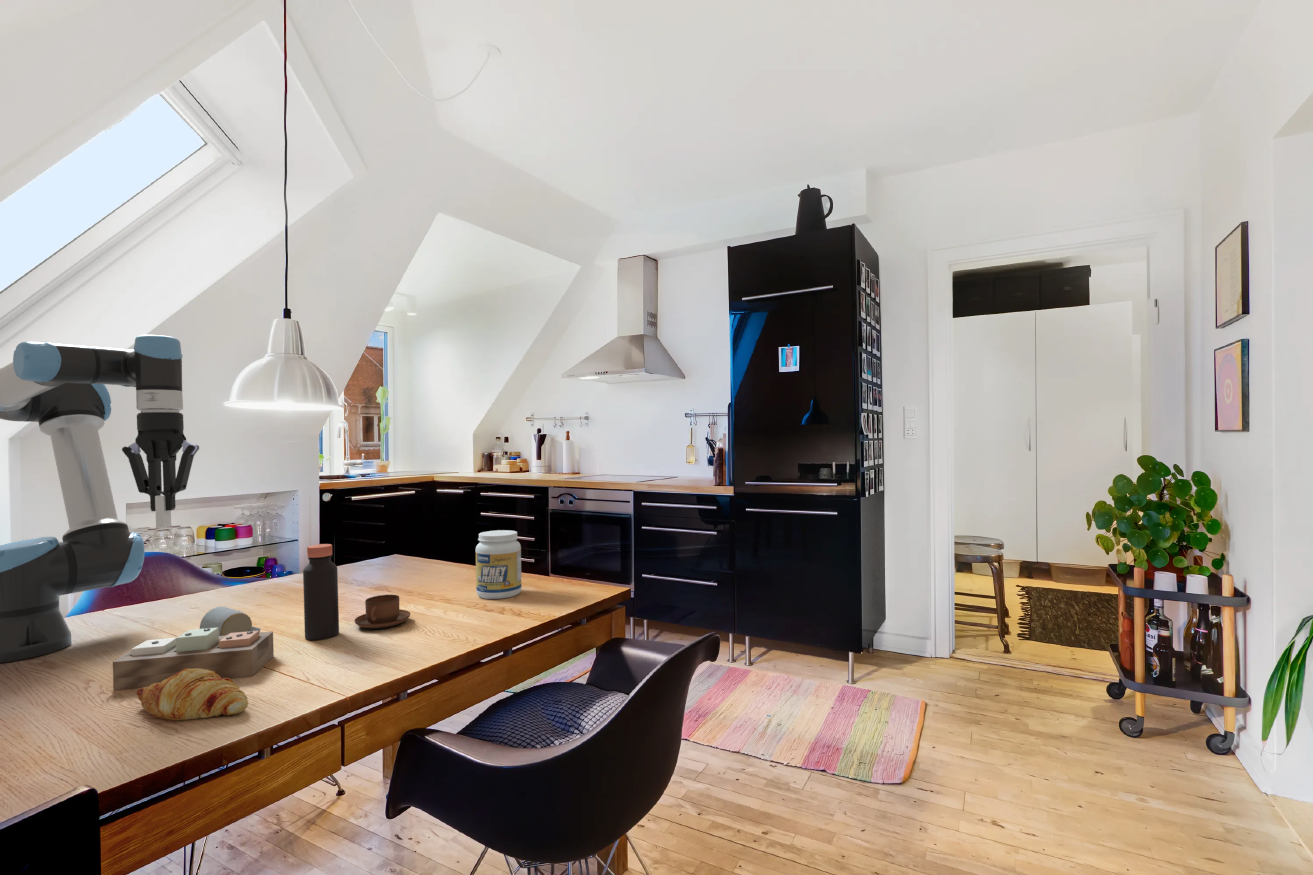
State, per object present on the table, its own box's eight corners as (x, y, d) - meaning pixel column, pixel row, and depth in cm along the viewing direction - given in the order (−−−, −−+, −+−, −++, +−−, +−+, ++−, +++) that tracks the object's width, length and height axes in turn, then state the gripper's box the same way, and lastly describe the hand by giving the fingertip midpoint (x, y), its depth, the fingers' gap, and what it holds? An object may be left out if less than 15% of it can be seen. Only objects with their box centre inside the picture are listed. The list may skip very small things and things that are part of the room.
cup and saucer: (410, 628, 145) (410, 601, 145) (352, 635, 141) (352, 607, 141) (410, 614, 156) (409, 589, 156) (356, 621, 152) (355, 595, 152)
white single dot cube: (132, 667, 115) (131, 647, 115) (147, 658, 120) (147, 639, 120) (164, 664, 117) (163, 644, 117) (177, 655, 121) (177, 636, 121)
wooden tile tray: (113, 689, 112) (112, 661, 112) (147, 667, 123) (146, 642, 123) (252, 676, 117) (251, 649, 117) (273, 655, 128) (273, 631, 128)
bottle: (346, 631, 143) (343, 543, 143) (322, 641, 136) (320, 549, 136) (321, 630, 145) (319, 542, 145) (297, 639, 138) (294, 548, 138)
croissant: (261, 728, 104) (279, 677, 107) (213, 724, 95) (233, 668, 98) (155, 717, 108) (175, 667, 111) (99, 712, 99) (123, 659, 103)
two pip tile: (176, 656, 117) (175, 636, 117) (189, 647, 122) (188, 628, 122) (207, 653, 118) (206, 634, 118) (219, 645, 123) (218, 626, 123)
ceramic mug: (221, 649, 133) (221, 614, 133) (198, 645, 136) (198, 610, 136) (269, 636, 142) (268, 603, 142) (246, 632, 145) (246, 599, 145)
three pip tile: (219, 659, 119) (219, 639, 119) (230, 650, 124) (230, 631, 123) (249, 656, 120) (248, 637, 120) (259, 648, 125) (258, 629, 125)
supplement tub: (472, 601, 167) (470, 537, 167) (480, 589, 179) (479, 530, 179) (519, 599, 168) (517, 535, 168) (524, 587, 180) (523, 528, 180)
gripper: (111, 411, 125) (115, 531, 125) (187, 410, 128) (191, 527, 128) (133, 413, 132) (137, 526, 132) (204, 412, 135) (208, 522, 135)
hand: (163, 526), depth 130 cm, fingers closed
